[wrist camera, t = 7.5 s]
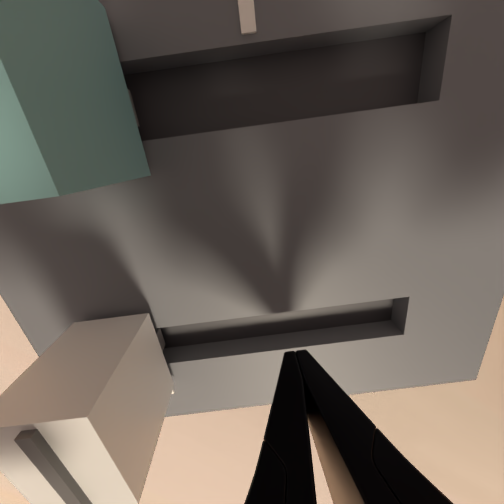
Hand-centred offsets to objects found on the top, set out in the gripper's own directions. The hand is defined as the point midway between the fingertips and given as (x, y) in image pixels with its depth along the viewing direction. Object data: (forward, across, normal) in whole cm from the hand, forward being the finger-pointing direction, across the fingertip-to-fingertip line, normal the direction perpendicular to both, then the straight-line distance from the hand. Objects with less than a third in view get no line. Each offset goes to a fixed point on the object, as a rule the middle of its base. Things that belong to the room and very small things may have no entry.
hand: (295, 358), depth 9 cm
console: (+3, +1, -5) cm, 6 cm away
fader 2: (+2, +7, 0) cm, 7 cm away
